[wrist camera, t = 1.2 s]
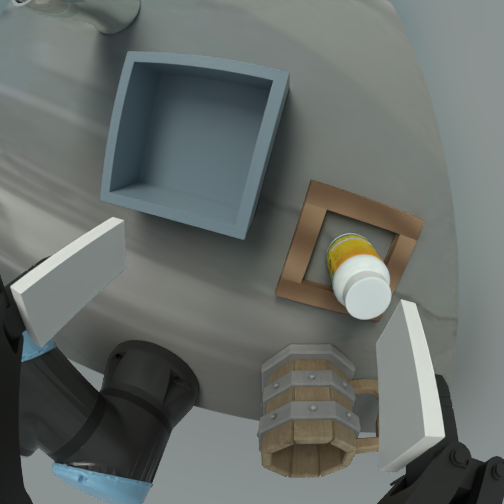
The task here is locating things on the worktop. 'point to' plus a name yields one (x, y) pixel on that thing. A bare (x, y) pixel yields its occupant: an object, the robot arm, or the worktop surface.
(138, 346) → the robot arm
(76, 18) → the beer glass
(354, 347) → the worktop surface
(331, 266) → the supplement bottle
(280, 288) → the socket frame
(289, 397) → the tankard
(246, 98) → the bin
